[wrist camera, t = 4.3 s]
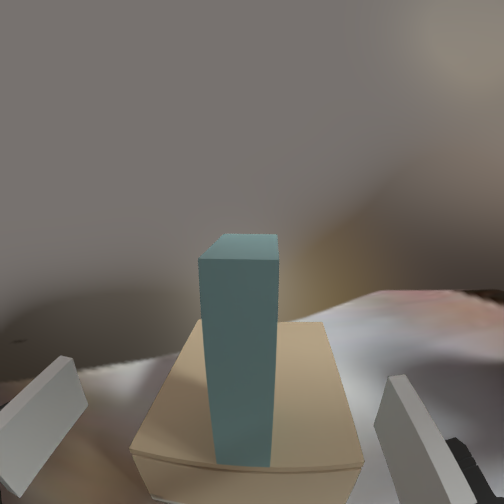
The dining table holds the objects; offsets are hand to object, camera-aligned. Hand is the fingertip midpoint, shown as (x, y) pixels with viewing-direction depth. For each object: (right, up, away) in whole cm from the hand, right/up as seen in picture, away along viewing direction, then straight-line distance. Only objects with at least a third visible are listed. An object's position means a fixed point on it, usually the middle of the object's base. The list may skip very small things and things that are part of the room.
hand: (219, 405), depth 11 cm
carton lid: (+1, -4, +13) cm, 14 cm away
